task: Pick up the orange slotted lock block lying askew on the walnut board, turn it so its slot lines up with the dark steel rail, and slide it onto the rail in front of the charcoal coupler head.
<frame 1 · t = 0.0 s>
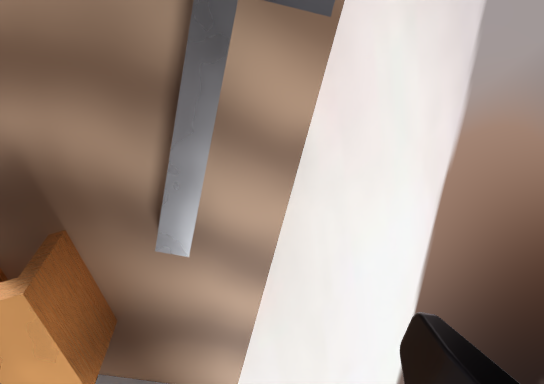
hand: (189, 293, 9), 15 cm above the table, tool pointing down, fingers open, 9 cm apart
coupler: (195, 124, 22), resting on walnut board
walnut board: (145, 95, 22), on the table
lock block: (48, 290, 25), point 1 cm above the table, touching walnut board
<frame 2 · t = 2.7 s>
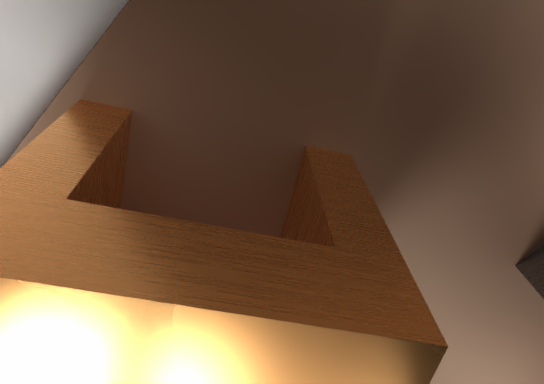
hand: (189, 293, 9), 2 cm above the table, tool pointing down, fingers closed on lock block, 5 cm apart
lock block: (194, 262, 10), point 1 cm above the table, touching gripper, walnut board
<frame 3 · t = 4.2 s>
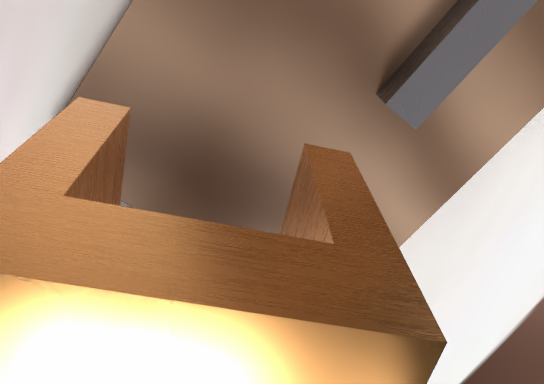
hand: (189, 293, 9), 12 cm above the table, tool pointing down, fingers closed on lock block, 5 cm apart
lock block: (193, 260, 10), point 11 cm above the table, touching gripper
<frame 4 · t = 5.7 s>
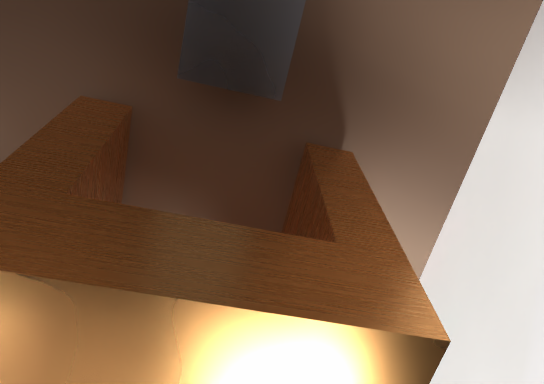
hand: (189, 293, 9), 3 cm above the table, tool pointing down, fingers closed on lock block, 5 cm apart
lock block: (195, 260, 10), point 2 cm above the table, touching gripper
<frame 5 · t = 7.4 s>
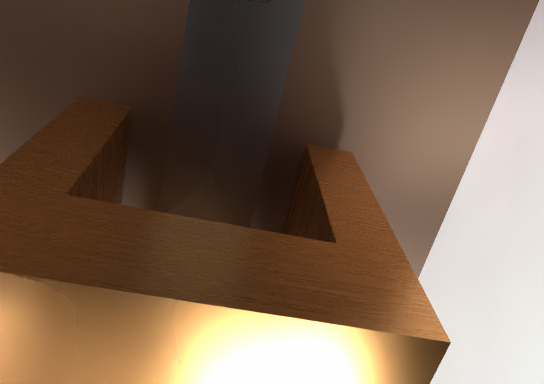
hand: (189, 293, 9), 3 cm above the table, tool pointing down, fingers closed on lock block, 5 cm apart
coupler: (215, 158, 10), resting on walnut board
walnut board: (103, 91, 10), on the table
lock block: (195, 260, 10), point 2 cm above the table, touching gripper
when the fingers open (2 cm above the table, at t = 8.9 s): lock block stays where it is, resting on walnut board.
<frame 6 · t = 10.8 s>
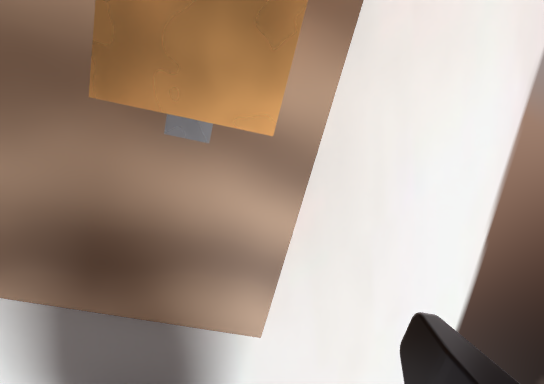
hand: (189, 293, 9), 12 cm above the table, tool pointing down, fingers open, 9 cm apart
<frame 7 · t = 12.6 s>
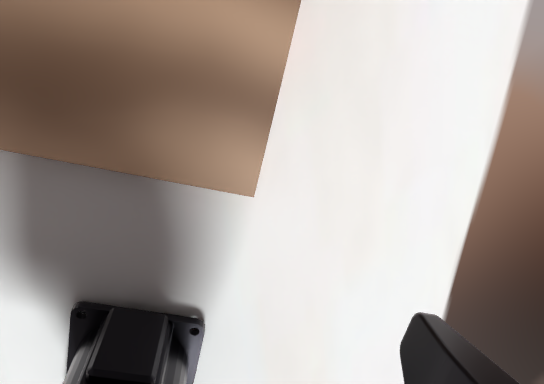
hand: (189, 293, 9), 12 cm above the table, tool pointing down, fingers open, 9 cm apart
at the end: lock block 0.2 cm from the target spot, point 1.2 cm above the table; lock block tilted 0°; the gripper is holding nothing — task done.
